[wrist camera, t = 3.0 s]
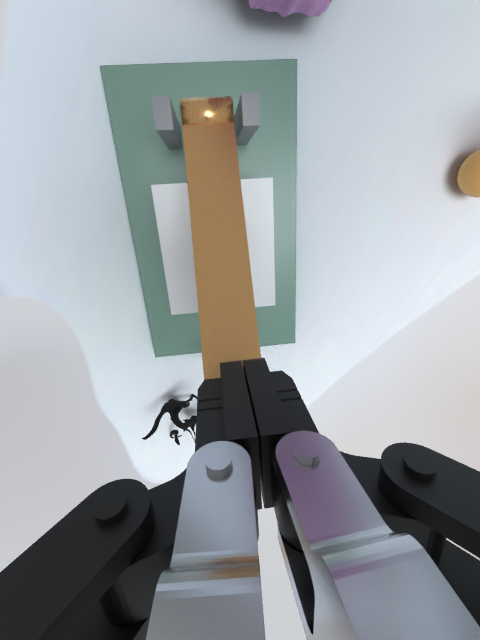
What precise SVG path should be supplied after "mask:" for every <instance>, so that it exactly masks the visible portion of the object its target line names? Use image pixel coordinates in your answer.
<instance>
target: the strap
mask: <svg viewBox="0 0 480 640" xmlns="http://www.w3.org/2000/svg"><path fill="white" fill-rule="evenodd" d="M179 100H180V111H181V120H182V128H183V140H184V151H185V163H186V174H187V186H188V197H189V209H190V220H191V232H192V243H193V254H194V266H195V277H196V289H197V300H198V312H199V323H200V335H201V346H202V358H203V369H204V380H205V379H213V378H221V374H220V363H221V362H230V361H239V360H241V362H243V360H248V359H257V358H261V354H260V346H259V337H258V328H257V319H256V311H255V302H254V293H253V285H252V276H251V267H250V258H249V250H248V241H247V232H246V224H245V215H244V206H243V197H242V189H241V180H240V171H239V163H238V154H237V145H236V136H235V128H234V111H233V100H232V96H223V97H199V98H179ZM242 367H243V363H242Z"/></svg>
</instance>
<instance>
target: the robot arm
mask: <svg viewBox="0 0 480 640" xmlns="http://www.w3.org/2000/svg"><path fill="white" fill-rule="evenodd" d="M242 363H243V367H242ZM220 374H221V378H213V379H205V380H204V381H203V383H202V384H201V386H200V387H199V389H198V403H197V421H196V442H195V453H194V454H193V455H192V457H191V458H190V460H189V462H188V465H187V468H186V469H185V470H184V471H183V472H182V473H181V474H180V475H178V476H177V477H175V478H174V479H172V480H170V481H168V482H166V483H164V484H161V485H159V486H157V487H154V488H152V489H150V490H148V489H147V488H146V486H145V485H143V484H142V483H141V482H139V481H137V480H133V479H120V480H116V481H113V482H110V483H107V484H105V485H103V486H101V487H100V488H98V489H97V490H95V491H94V492H93V493H91V494H90V495H89V496H88V497H87V498H86V499H84V500H83V501H82V502H81V503H80V504H79V505H77V507H75V508H74V509H73V510H72V511H71V512H69V513H68V514H67V515H66V516H65V517H64V518H63V519H61V520H60V521H59V522H58V523H57V524H56V525H54V526H53V527H52V528H51V529H50V530H49V531H47V532H46V533H45V534H44V535H43V536H42V537H41V538H39V539H38V540H37V541H36V542H35V543H34V544H32V545H31V546H30V547H29V548H28V549H27V550H26V551H24V552H23V553H22V554H21V555H20V556H19V557H18V558H16V559H15V560H14V561H13V562H12V563H11V564H9V565H8V566H7V567H6V568H5V569H4V570H3V571H1V572H0V640H265V628H264V615H263V605H262V591H261V578H260V566H259V556H258V543H257V542H258V537H259V528H258V514H257V510H258V509H262V503H261V492H262V498H263V503H264V508H271V507H274V509H275V513H276V518H277V522H278V539H279V544H280V548H281V551H282V554H283V558H284V561H285V565H286V568H287V572H288V575H289V579H290V582H291V586H292V589H293V593H294V596H295V600H296V603H297V607H298V610H299V614H300V617H301V620H302V624H303V628H304V631H305V634H306V639H307V640H480V561H479V560H478V559H476V558H474V557H473V556H471V555H470V554H468V553H467V552H465V551H463V550H461V549H460V548H459V547H457V546H455V545H454V544H452V543H451V542H449V541H447V540H446V538H448V539H450V540H451V541H453V542H454V543H456V544H458V545H459V546H461V547H463V548H464V549H466V550H468V551H469V552H471V553H472V554H474V555H476V556H477V557H479V558H480V472H479V471H477V470H475V469H473V468H470V467H468V466H466V465H464V464H462V463H459V462H457V461H455V460H453V459H451V458H449V457H446V456H444V455H442V454H440V453H438V452H435V451H433V450H431V449H429V448H426V447H424V446H421V445H417V444H412V443H396V444H393V445H390V446H388V447H387V448H386V449H385V450H384V451H383V453H382V456H381V459H376V458H368V457H360V456H354V455H350V454H346V453H343V452H341V451H339V450H338V449H337V447H336V446H335V444H334V443H333V442H332V441H331V440H329V439H328V438H327V437H325V436H323V435H321V434H319V432H318V430H317V428H316V426H315V424H314V422H313V420H312V418H311V416H310V414H309V412H308V410H307V408H306V406H305V404H304V402H303V400H302V399H301V395H300V393H299V391H297V387H296V385H295V383H294V381H293V379H292V378H291V377H290V376H288V375H287V374H286V373H284V372H283V371H274V372H270V371H269V369H268V366H267V363H266V361H265V358H257V359H248V360H243V362H241V360H239V361H230V362H221V363H220Z"/></svg>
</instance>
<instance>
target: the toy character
mask: <svg viewBox="0 0 480 640" xmlns="http://www.w3.org/2000/svg"><path fill="white" fill-rule="evenodd" d="M248 1H249V6H250V8H251V9H256V8H258V9H261V10H264V11H267V12H278V13H279V14H280V15H281V16H282V17H287V16H289V15H290V14H292V13H301V14H304V15H306V16H319V15H320V14H322V13H323V12H324V11H325V10H326V9H327V7H328V5H329V4H330V2H331V1H332V0H248Z"/></svg>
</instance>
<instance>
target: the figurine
mask: <svg viewBox="0 0 480 640" xmlns="http://www.w3.org/2000/svg"><path fill="white" fill-rule="evenodd" d="M457 182H458V186H459V188H460V189H461V191H462V192H464V193H465V194H467V195H469V196H472V197H480V149H479V150H477V151H475V152H474V153H472V154H471V155H470V156H469V157H467V158H466V160H465V161H464V162H463V163H462V165H461V167H460V169H459V171H458V175H457Z"/></svg>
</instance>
